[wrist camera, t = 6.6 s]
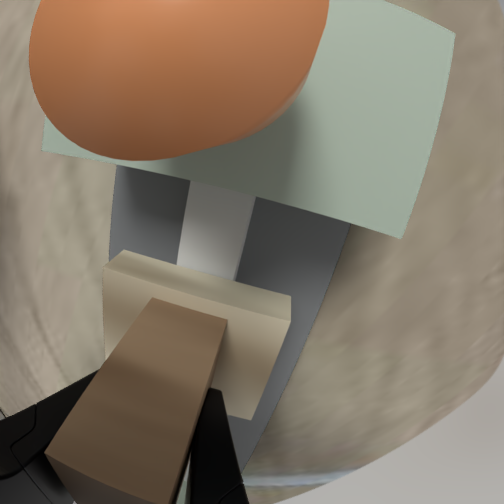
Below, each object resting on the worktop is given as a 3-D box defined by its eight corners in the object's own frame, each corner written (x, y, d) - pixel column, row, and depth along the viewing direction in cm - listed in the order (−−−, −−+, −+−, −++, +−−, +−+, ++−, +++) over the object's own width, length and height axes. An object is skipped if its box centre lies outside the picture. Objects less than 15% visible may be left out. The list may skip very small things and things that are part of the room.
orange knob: (285, 157, 6) (281, 196, 3) (144, 127, 6) (10, 142, 3) (321, 20, 5) (352, -89, 1) (177, -1, 5) (80, -86, 1)
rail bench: (229, 484, 22) (218, 541, 16) (129, 454, 22) (106, 506, 16) (384, 71, 10) (455, 33, 4) (164, 25, 10) (83, -27, 5)
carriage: (255, 393, 12) (226, 560, 6) (121, 352, 13) (35, 488, 6) (291, 296, 10) (280, 522, 4) (123, 249, 11) (-29, 392, 4)
